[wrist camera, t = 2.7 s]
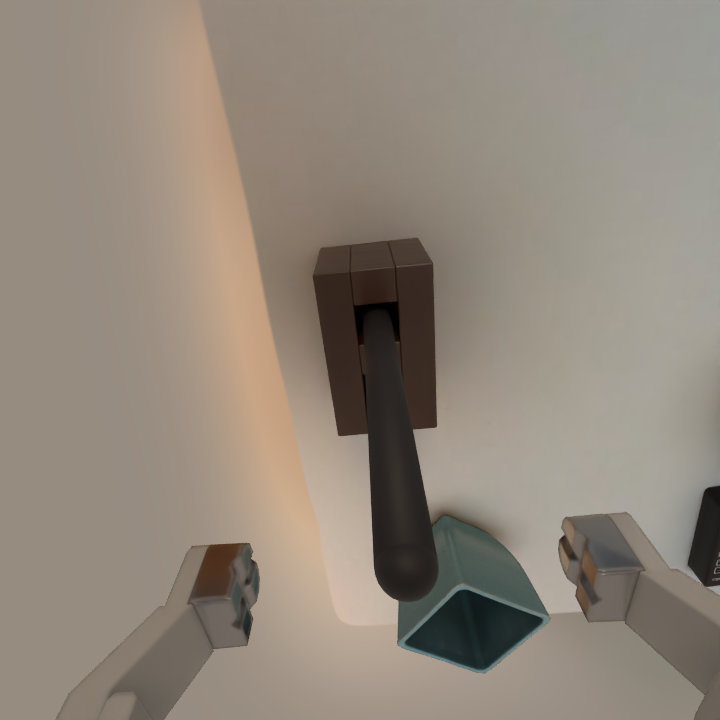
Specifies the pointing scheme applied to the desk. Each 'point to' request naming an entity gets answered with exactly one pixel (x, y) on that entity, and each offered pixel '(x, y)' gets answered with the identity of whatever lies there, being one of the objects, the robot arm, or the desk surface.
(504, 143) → the desk surface
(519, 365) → the desk surface
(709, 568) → the multiport hub
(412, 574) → the stylus
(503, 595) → the flower pot
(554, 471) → the desk surface
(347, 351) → the pen stand
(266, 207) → the desk surface
